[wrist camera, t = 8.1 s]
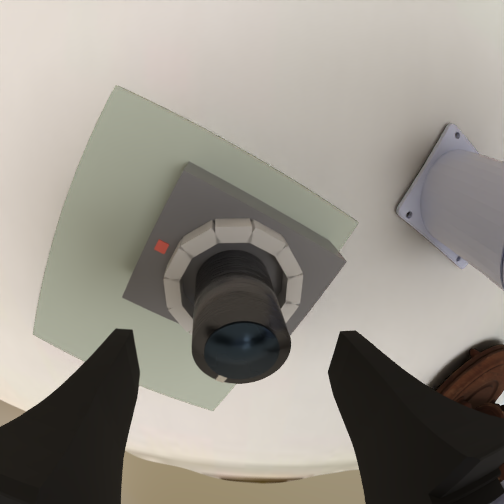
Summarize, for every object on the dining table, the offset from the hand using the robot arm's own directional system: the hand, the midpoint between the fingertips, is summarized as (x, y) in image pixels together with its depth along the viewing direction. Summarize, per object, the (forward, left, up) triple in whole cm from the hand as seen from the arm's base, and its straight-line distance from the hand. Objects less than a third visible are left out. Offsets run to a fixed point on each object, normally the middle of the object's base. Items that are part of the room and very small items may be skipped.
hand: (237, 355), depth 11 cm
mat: (+2, +5, -10) cm, 12 cm away
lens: (-1, +1, -7) cm, 7 cm away
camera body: (-1, +1, -10) cm, 10 cm away
